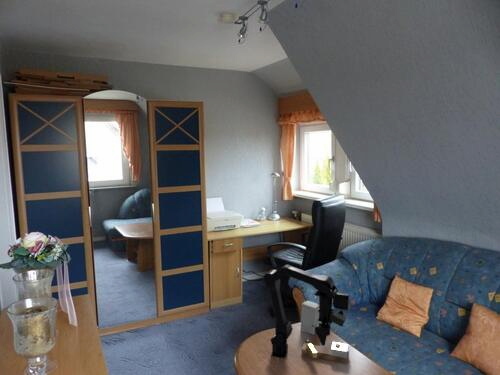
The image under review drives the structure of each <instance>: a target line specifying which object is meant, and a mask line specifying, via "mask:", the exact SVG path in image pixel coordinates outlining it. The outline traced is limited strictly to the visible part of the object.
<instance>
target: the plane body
mask: <svg viewBox="0 0 500 375" xmlns="http://www.w3.org/2000/svg"><path fill="white" fill-rule="evenodd" d="M312 345H313V347H314V348H315V350H316V351H317V358H316V359H320V360H324V361H331V362H336V363H341V364H346V365H349V359H350V350H348V355H347V358H344V357H338V356H333V355H331V348H328V347H322V346H320V345H315V344H312ZM300 353H301V356H303V357H309V358H313V357H312V355H311V354H310V352H309V350H308V349H307V347H306V342H305V343H303V344H302V347H301V352H300Z"/></svg>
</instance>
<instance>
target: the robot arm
mask: <svg viewBox="0 0 500 375" xmlns="http://www.w3.org/2000/svg"><path fill="white" fill-rule="evenodd" d="M286 276H287V277H290V278H293V279H294V280H297V281H300V282H302V283H305V284H308V285H311V286H312V287H313V288H314V289H315V290H316V291H315V292H314V296H315V297H318V304H319V309H318V312H319V317H318V321H319V323H318V324H316V326H315V334H316V335H317V337H318V339H319V342H320V343H321V344H322V345H323V346H325V343H327V342H326V341H327V337H328V336H330V334H331V333H332V332H331V331H332V327H331V324H333V323H334V324H336V325H338V326H339V327H343V326H344V324H345V322H346V319H347V316H346V315H345V311H350V310H351V305H352V304H351V302H352V300H351V296H350V293H342V292H339V289H338V287H337V286H336V285H335V283H334V279H333V278H332V277H331V276H329V275H323V274H315V273H312V272H308V271H305V270H304V269H300V268H297V267H294V266H292V265H290V264H285V265H283V266H281V267H279V268H277V269H271V270H269V271H268V272H267V273H265V274H264V276H263V278H262V279H263V283H264V285H265V287H266V289H267V290H268V292H269V294H270V300H271V303H272V304H271V305H272V308H273V313H274V317H275V318H274V319H275V328H274V331H275V332H274V333H275V334H274V335H273V336H272V337H271V338H270V343H271V345H272V347H271V349H272V350H271V354H270V356H272V357H278V358H281V359H282V358H283V359H285V358H286V356H287V355H288V352H289V344H288V339H289V338H290V336H291V334H292V333H293V329H294V328H293V326H292V321H288V320H287V318H286V317H287V316H286V313H285V307H284V303H283V300H282V294H281V291H280V290H281V289H280V287H281V279H282V278H284V277H286ZM334 308H335V309H336V311H335V310H334ZM337 310H338V311H337Z"/></svg>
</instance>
